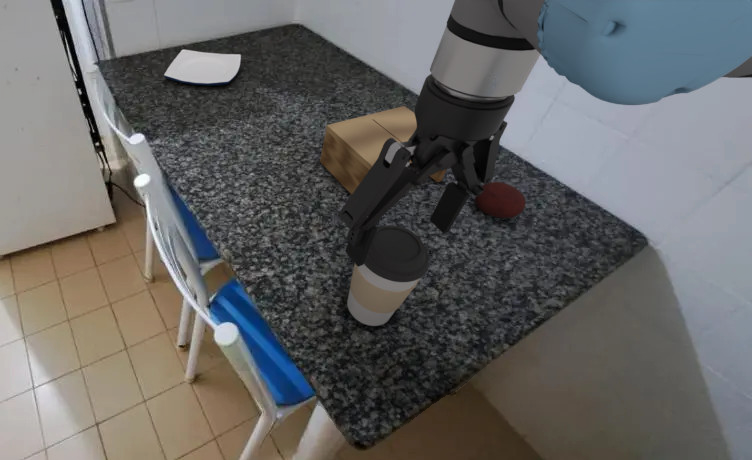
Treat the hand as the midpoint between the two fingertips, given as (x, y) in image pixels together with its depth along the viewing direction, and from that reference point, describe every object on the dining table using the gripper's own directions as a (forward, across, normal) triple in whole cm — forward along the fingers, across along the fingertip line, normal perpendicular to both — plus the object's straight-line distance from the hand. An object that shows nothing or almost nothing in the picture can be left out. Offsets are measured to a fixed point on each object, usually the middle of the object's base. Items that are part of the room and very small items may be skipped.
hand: (397, 241), depth 50 cm
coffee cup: (+15, 0, 0) cm, 15 cm away
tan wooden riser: (+15, -23, -27) cm, 38 cm away
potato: (+15, -35, -8) cm, 39 cm away
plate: (+16, -5, -86) cm, 87 cm away
